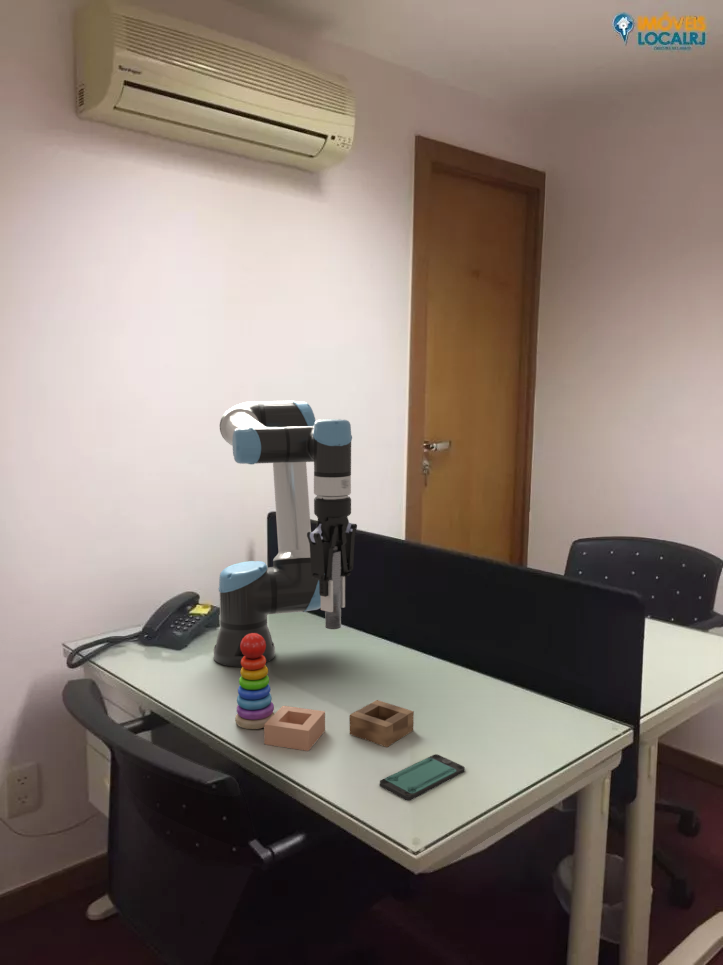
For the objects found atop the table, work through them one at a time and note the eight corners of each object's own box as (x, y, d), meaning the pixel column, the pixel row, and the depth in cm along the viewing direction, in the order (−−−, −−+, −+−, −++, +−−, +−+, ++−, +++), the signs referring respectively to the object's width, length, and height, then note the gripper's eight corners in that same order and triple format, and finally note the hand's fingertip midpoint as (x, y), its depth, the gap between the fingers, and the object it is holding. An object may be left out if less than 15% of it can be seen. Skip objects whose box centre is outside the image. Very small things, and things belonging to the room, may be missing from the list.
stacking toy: (231, 717, 162) (229, 629, 160) (269, 711, 165) (268, 625, 162) (239, 733, 155) (237, 641, 152) (279, 727, 158) (278, 636, 155)
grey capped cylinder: (322, 627, 163) (321, 545, 160) (332, 623, 165) (331, 543, 163) (334, 630, 161) (333, 547, 158) (343, 626, 163) (343, 545, 161)
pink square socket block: (264, 744, 150) (264, 724, 150) (283, 724, 159) (282, 705, 158) (308, 751, 148) (308, 730, 147) (325, 730, 156) (325, 711, 156)
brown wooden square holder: (349, 734, 155) (349, 714, 154) (376, 718, 162) (377, 699, 161) (386, 747, 149) (386, 727, 149) (413, 730, 156) (413, 711, 156)
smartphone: (466, 766, 140) (408, 796, 130) (466, 773, 140) (408, 803, 130) (435, 752, 146) (377, 779, 135) (435, 758, 146) (377, 786, 136)
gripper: (320, 503, 151) (321, 621, 154) (371, 493, 163) (371, 602, 167) (291, 499, 155) (292, 614, 158) (343, 489, 168) (343, 596, 171)
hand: (332, 608), depth 162 cm, fingers closed on grey capped cylinder, 3 cm apart
